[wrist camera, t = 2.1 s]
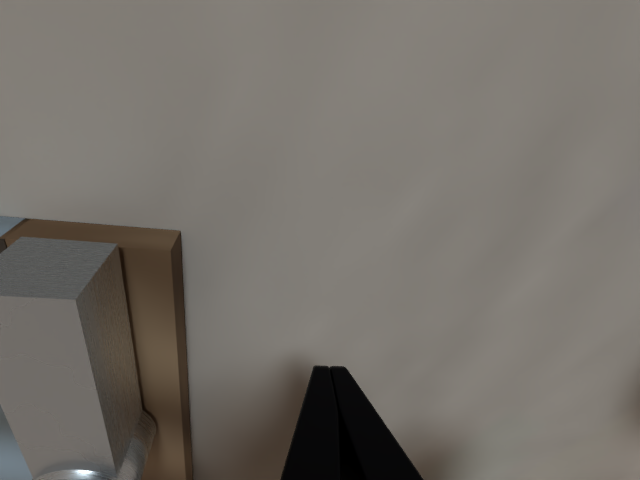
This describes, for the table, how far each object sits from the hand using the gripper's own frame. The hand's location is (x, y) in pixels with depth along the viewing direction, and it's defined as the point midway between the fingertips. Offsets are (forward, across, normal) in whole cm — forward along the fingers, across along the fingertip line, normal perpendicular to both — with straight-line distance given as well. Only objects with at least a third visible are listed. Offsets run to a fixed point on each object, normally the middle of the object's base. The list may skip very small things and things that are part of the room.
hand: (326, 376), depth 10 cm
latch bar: (+3, +7, +3) cm, 8 cm away
